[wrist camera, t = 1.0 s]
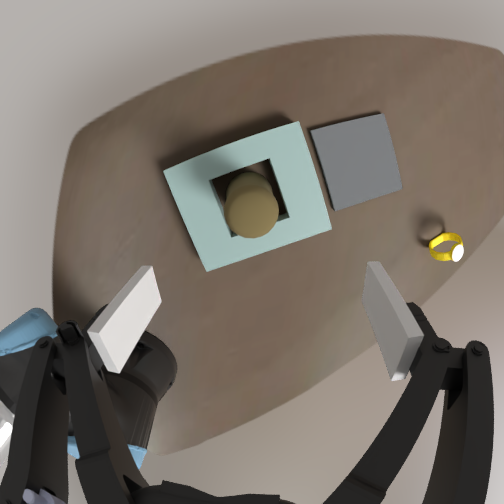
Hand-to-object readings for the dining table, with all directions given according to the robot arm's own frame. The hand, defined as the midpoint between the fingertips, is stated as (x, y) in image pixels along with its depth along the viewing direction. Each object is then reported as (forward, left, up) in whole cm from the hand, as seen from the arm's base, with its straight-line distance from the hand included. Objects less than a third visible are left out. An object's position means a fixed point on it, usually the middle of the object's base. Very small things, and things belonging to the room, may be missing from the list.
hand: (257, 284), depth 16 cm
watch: (+27, -14, -21) cm, 37 cm away
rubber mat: (+16, +2, -20) cm, 26 cm away
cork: (0, +2, -21) cm, 21 cm away
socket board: (0, +2, -20) cm, 21 cm away
